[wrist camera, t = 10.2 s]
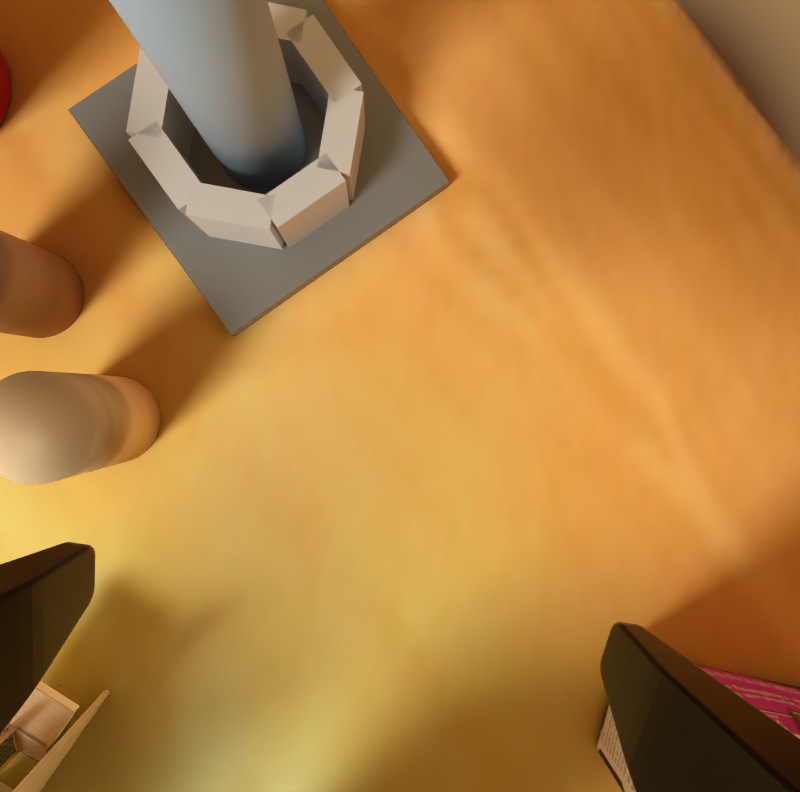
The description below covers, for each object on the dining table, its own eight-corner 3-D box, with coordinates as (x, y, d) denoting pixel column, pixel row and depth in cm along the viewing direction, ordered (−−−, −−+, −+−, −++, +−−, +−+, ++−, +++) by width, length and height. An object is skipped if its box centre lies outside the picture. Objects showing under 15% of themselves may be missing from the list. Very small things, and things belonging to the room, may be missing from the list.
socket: (235, 335, 21) (210, 326, 18) (77, 118, 20) (24, 69, 17) (447, 187, 21) (459, 152, 18) (295, -30, 21) (282, -103, 18)
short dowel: (106, 479, 21) (20, 507, 16) (54, 409, 21) (-50, 415, 16) (178, 428, 21) (115, 440, 16) (126, 359, 21) (46, 348, 16)
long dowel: (271, 209, 20) (39, -199, 6) (199, 155, 20) (-204, -386, 6) (324, 139, 20) (210, -416, 6) (252, 85, 20) (-25, -606, 6)
